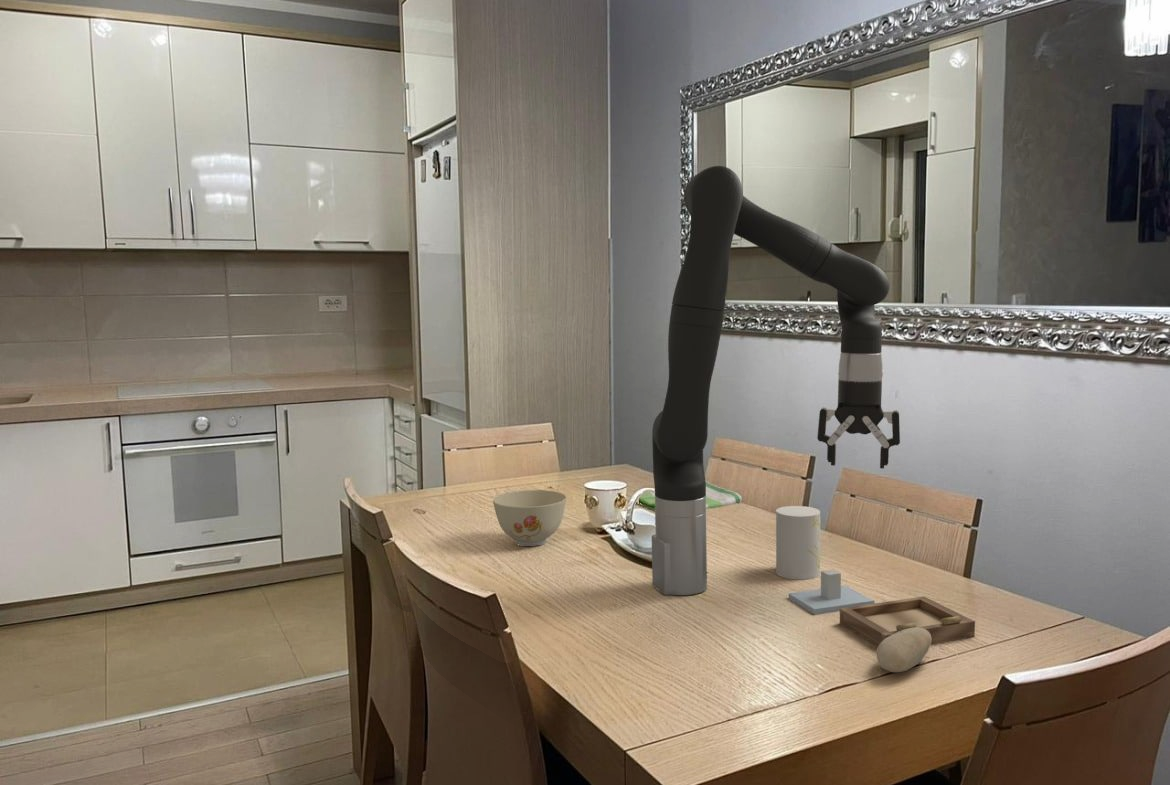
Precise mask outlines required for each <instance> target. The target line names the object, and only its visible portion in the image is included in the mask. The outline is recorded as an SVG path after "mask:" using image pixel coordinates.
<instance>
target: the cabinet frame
mask: <svg viewBox="0 0 1170 785" xmlns="http://www.w3.org/2000/svg"><path fill="white" fill-rule="evenodd" d="M839 623H840V624H841V625H843V627H846V628H847V629H849V630H850V631H852V632H854V633H855V634H857V635H858V636H860V637H862V638H863V639H865V640H867V641H869V643H870V644H873V645H874V646H877V647H878V646H879V645H880V643H881V642H882V641H883V640H884V639H886V638H887V637H889V636H891V635H892V634H894V633H896V632H899V631H901V630H905V629H909V628H915V627H918V628H923V629H925V630H927V631H928V632H929V633H930V635H931V638H932V641H931V644H937V643H942V642H948V641H955V640H961V639H965V638H966V639H967V638H973V637H975V636H976V634H975V633H976V630H975V629H976V620H973V619H971V618H969V617H967V616H965V615H964V614H961V613H959V612H957V611H955V610H952V609H950V608H949V607H946V606H944V605H942V604H941V603H938V602H936V601H935V600H932V599H930V598H928V597H926V596H923V595H922V596H917V597H909V598H904V599H897V600H890V601H884V602H877V603H875V602H874V604H868V605H861V606H854V607H847V608H841V609H840V611H839Z"/></svg>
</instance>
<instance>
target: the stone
mask: <svg viewBox="0 0 1170 785" xmlns="http://www.w3.org/2000/svg"><path fill="white" fill-rule="evenodd" d="M931 641H932V638H931V635H930V633H929V632H928V631H927V630H925V629H923V628H918V627H915V628H909V629H905V630H901V631H899V632H896V633H894V634H892V635H891V636H889V637H887V638H886V639H884V640H883V641H882V642H881V643H880V645H879V646H877V649H876V659H877V662H878V664H879V665H880V667H881V668H882V669H883V670H886V671H887V672H891V673H902V672H905V671H908V670H910V669H912V668H913V667H916V666H917V665H918V664H919V663H920V662H921V661H922V660H923V658H924V657H926V655H927V653H928V651H929V649H931V648H930V647H931V645H932V643H931Z"/></svg>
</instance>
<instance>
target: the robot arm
mask: <svg viewBox="0 0 1170 785" xmlns="http://www.w3.org/2000/svg"><path fill="white" fill-rule="evenodd" d="M683 202H684V205H685V208H686V210H687V212H688V213H689V215H690V227H689V238H688V245H687V249H686V253H685V257H684V260H683V263H682V265H681V269H680V272H679V275H678V278H677V281H676V283H675V284H676V285H675V288H674V290H673V291H674V293H673V296H672V301H671V304H672V305H671V306H670V307H671V309H670V316H669V323H668V333H667V334H668V337H667V338H668V339H667V340H668V342H667V343H668V344H667V346H668V347H667V349H668V350H667V352H668V354H667V355H668V359H667V360H668V382H667V383H668V384H667V389H666V395H665V398H664V399H665V400H664V403H663V409H662V410H661V411H659V413H658V415H657V416H656V418H654V422H653V424H652V431H651V432H652V433H651V434H652V440H651V441H652V442H651V443H652V444H651V445H652V469H653V470H652V471H653V473H652V475H653V482H654V484H653V486H654V491H655V510H654V520H655V523H654V525H655V526H654V528H655V530H654V532H655V534H651V572H652V576H651V577H652V586H654V587H655V589H657V590H658V591H659V592H661V594H663V595H665V596H668V595H674V596H691V595H697V594H699V593H703V592H705V591H706V590H707V588H708V564H707V562H708V560H707V556H708V555H707V553H708V552H707V509H706V481H707V480H706V477H705V476H706V475H705V469H704V468H705V467H704V449H705V446H706V445H707V441H708V432H709V431H708V430H709V429H708V428H709V427H708V425H709V422H708V421H709V405H710V390H711V381H712V377H713V373H714V369H715V365H716V359H717V355H718V352H719V351H718V350H719V345H720V340H721V334H722V330H723V322H724V315H725V310H726V309H725V308H726V298H727V288H728V279H729V267H730V266H729V265H730V264H729V263H730V254H731V247H732V243H733V238H734V235H735V236H737V237H739V238H741V239H744V240H745V241H747V242H750V243H752V245H755V246H757V247H758V248H760V249H761V250H764V251H765V252H767V253H769V254H770V255H772V256H773V257H774V258H776V259H778V260H779V261H781V262H783V263H784V264H786V265H788V266H789V267H791V268H793V269H795V270H796V271H797V272H799V273H801V274H802V275H804V276H806V277H807V278H809V279H811V280H813V281H815V282H817V283H821V284H826V285H828V286H830V287H832V288H834V290H835V289H836V301H837V309H838V316H839V320H840V325H841V326H840V327H841V332H840V354H839V361H838V362H839V363H838V377H837V378H838V381H837V382H838V386H837V388H838V389H837V407H836V409H829V408H827V407H822V408H821V409H820V410H819V416H818V417H819V418H818V428H817V440H818V442H822V443H825V444H826V445H827V448H826V450H827V451H826V452H827V455H826V457H827V458H826V460H827V462H828V463H830V466H831V467H832V466H834V467H835V466H836V458H837V455H836V454H837V452H836V450H837V444H836V442H837V441H838V440H839V439H840V438H841V437H842V436H843V434H844V433H845V432H846V433H848V434H853V435H854V434H860V435H868V434H871V433H872V435H873V436H874V438H875V439H876V440H877V441H878V443H880V445H881V446H880V457H879V469H883V470H884V469H885V466H888V464H889V455H890V453H889V452H890V448H891V447H894V446H899V445H900V443H901V435H900V434H901V432H900V428H901V427H900V412H899V411H898V410H897V409H896V410H892V411H883V408H882V394H883V393H882V390H883V389H882V388H883V385H882V384H883V373H884V372H883V359H882V346H883V344H882V343H883V342H882V340H883V330H882V325H881V323H880V321H878V320H877V318H876V309H875V305H877V304H880V303H881V302H883V301H884V300H885V298H887V296H888V294H889V291H890V281H889V277H888V276H887V275H886V272H884V271H883V270H882V269H881V268H880V267H879V266H877V265H876V264H874V263H872V262H870V261H868V260H866V259H863V258H861V257H859V256H856V255H855V254H852V253H850V252H847V251H845V250H843V249H841V248H839V247H837V246H836V245H835V244H834V243H832V242H830V241H828V240H826V239H825V238H824V237H822V236H820V235H819V234H817V233H815V232H813V231H812V230H810V229H808V228H806V227H804V226H802V225H800V224H798V223H796V222H793V221H790V220H788V219H785V218H783V217H781V216H778V215H776V214H773V213H772V212H769V211H767V210H766V209H764V208H762V207H760V206H759V205H757V204H756V203H754V202H752V201H751V200H749V199H748V198H747V197H746V196H744V190H743V185H742V182H741V180H740V178H739V176H738V175H737V174H736V172H734V170H732V169H731V168H729V167H727V166H724V165H713V166H709V167H706V168H705V169H703V170H701V171H699V172H698V173H697V174H695V175H694V176H693V177H691V179H690V180H689V181H688V183H687V184H686V186H685V188H684V193H683ZM832 417H835V419H836V420H837V421H838V423H839V425H838V427H836V429H835V430H834V432H833V433H832V434H831V435H828V434H826V430H827V422H829V421H831V419H832ZM884 418H885V419H886V421H887V423H889V425H891V427H892V428H891V431H892V437H891V438H887V437H886V435H885V434H884V433H883V431H882V429H881V428H880V427H879V426H878V425H879V424H880V423H881V421H882V420H883V419H884Z"/></svg>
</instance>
